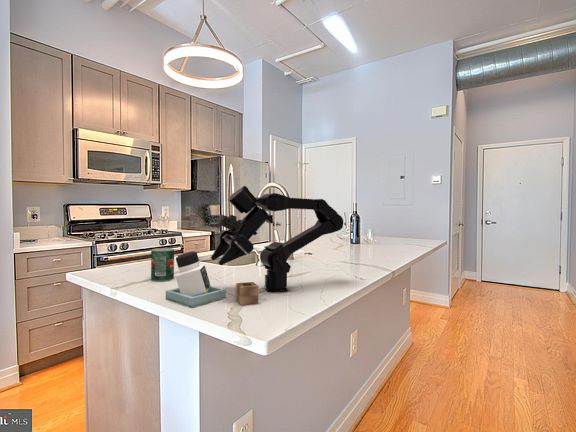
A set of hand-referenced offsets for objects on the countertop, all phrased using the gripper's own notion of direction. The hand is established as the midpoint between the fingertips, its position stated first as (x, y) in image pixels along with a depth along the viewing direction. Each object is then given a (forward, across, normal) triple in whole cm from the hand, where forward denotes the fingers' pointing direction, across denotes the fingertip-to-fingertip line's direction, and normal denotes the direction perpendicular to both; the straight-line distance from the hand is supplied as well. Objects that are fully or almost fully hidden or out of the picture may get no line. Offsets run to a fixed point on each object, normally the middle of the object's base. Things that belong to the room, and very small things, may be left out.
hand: (215, 261), depth 92 cm
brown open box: (+3, +9, +12) cm, 15 cm away
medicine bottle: (+10, 0, +3) cm, 10 cm away
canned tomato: (+16, -29, -1) cm, 33 cm away
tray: (+11, 0, +3) cm, 12 cm away
